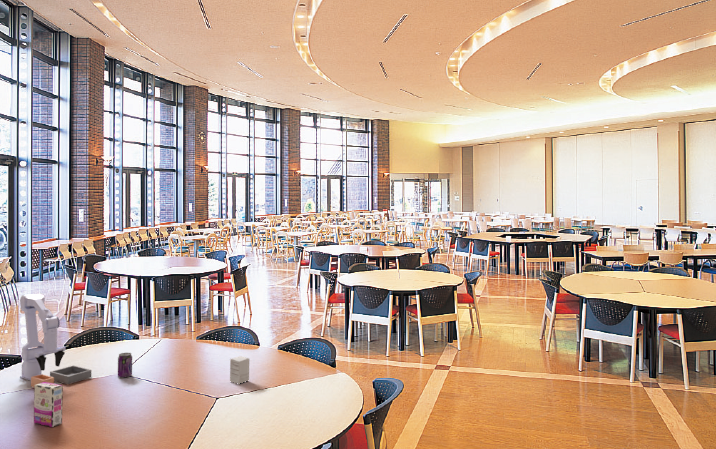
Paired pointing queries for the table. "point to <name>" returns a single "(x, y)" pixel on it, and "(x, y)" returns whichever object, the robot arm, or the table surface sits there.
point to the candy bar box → (48, 404)
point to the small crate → (41, 379)
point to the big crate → (70, 374)
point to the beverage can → (124, 365)
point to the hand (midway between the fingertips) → (50, 368)
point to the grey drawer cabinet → (239, 369)
